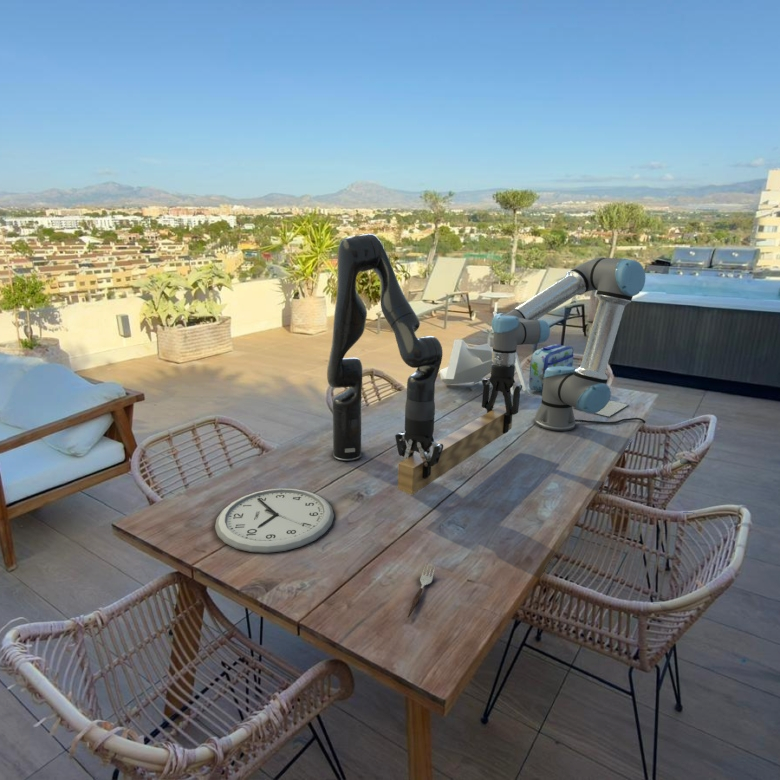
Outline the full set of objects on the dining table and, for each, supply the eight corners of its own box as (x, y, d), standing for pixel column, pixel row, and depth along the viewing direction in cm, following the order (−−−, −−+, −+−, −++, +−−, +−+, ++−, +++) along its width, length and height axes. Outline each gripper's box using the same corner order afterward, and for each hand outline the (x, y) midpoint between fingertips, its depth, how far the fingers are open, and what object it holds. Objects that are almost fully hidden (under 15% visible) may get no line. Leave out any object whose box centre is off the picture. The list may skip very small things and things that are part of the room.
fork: (401, 617, 102) (401, 609, 101) (424, 570, 116) (425, 562, 116) (414, 621, 101) (414, 612, 100) (436, 572, 115) (436, 565, 115)
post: (498, 425, 183) (500, 405, 181) (511, 428, 180) (513, 408, 178) (397, 489, 137) (398, 463, 134) (412, 495, 134) (413, 468, 132)
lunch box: (545, 397, 238) (550, 352, 231) (524, 391, 245) (529, 348, 239) (572, 386, 255) (578, 344, 249) (552, 381, 262) (557, 340, 256)
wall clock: (332, 544, 122) (200, 548, 120) (332, 550, 123) (201, 555, 120) (334, 484, 151) (228, 486, 148) (334, 489, 151) (228, 491, 149)
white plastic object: (461, 429, 252) (437, 405, 227) (444, 352, 274) (420, 323, 250) (535, 404, 240) (518, 377, 215) (510, 326, 262) (492, 293, 237)
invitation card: (608, 416, 214) (573, 407, 224) (608, 416, 214) (573, 408, 224) (628, 404, 229) (594, 396, 238) (628, 405, 229) (594, 397, 238)
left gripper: (388, 412, 135) (387, 471, 140) (435, 425, 127) (432, 488, 132) (405, 404, 141) (403, 462, 146) (451, 416, 132) (448, 477, 138)
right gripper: (473, 361, 172) (469, 427, 179) (524, 370, 162) (518, 440, 169) (484, 357, 178) (479, 421, 185) (534, 366, 168) (527, 433, 175)
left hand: (417, 474), depth 139 cm, fingers closed on post, 4 cm apart
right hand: (498, 430), depth 177 cm, fingers closed on post, 5 cm apart
